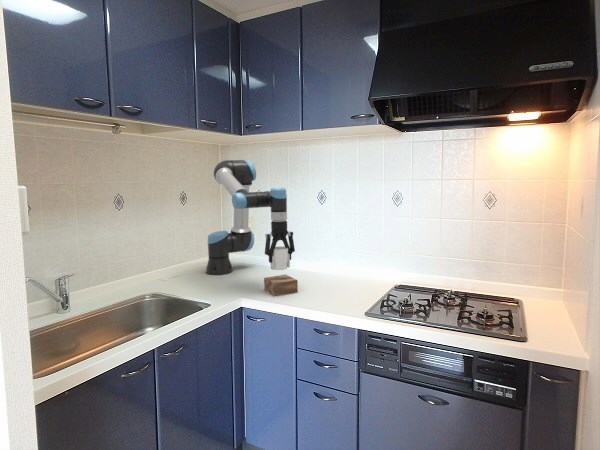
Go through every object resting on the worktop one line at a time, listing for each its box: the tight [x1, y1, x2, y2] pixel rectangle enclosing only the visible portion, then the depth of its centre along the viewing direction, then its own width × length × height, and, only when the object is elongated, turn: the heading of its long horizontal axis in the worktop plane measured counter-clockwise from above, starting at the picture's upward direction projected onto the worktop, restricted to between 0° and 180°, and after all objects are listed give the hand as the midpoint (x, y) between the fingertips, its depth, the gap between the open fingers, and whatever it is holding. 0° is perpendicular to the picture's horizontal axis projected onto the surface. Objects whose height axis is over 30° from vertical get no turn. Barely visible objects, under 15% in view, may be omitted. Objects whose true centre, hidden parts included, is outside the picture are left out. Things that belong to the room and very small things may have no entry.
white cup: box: [272, 246, 288, 271], centre depth 185 cm, size 8×8×10 cm
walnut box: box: [263, 274, 299, 297], centre depth 186 cm, size 12×12×6 cm
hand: (280, 267), depth 185 cm, fingers closed on white cup, 7 cm apart
